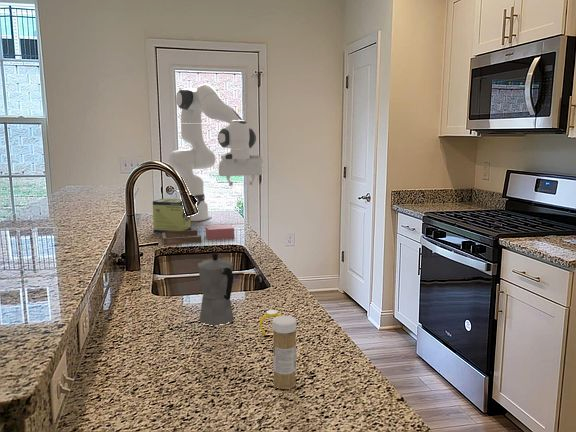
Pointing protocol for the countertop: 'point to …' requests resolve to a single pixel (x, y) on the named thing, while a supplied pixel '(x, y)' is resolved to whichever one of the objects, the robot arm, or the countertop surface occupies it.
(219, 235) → the carton
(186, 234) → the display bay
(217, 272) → the coffeepot
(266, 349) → the countertop surface
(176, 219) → the protein box
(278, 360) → the sprinkles bottle
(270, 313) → the watch
